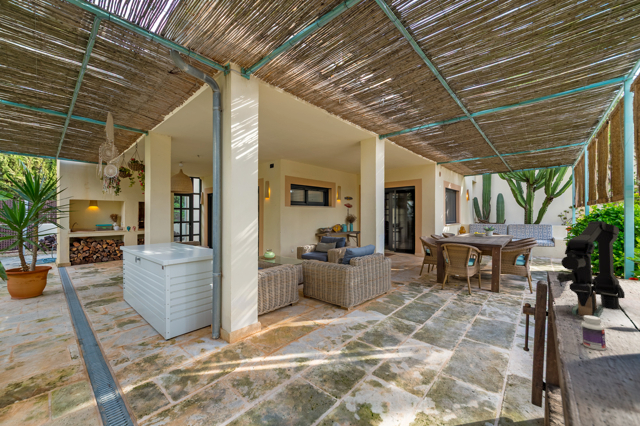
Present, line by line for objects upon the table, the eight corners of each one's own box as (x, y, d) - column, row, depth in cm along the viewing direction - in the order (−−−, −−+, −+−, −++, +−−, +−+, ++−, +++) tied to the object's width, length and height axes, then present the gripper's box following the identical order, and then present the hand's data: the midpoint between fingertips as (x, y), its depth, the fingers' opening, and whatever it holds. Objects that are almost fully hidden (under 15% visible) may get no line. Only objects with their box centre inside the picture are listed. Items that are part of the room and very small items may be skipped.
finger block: (580, 313, 117) (578, 295, 117) (593, 315, 114) (591, 296, 114) (578, 314, 115) (577, 296, 115) (591, 317, 112) (590, 298, 112)
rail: (579, 308, 125) (578, 302, 126) (603, 312, 119) (603, 306, 119) (572, 316, 116) (572, 309, 116) (598, 321, 110) (597, 313, 110)
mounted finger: (584, 307, 124) (583, 290, 124) (597, 309, 120) (595, 292, 121) (583, 309, 122) (582, 291, 122) (596, 311, 119) (594, 293, 119)
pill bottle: (609, 352, 84) (606, 321, 85) (585, 348, 87) (583, 318, 87) (602, 345, 89) (600, 316, 89) (580, 342, 91) (578, 313, 92)
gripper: (562, 263, 127) (564, 296, 126) (552, 268, 116) (555, 304, 115) (595, 266, 118) (598, 301, 118) (588, 271, 107) (591, 310, 106)
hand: (584, 304), depth 114 cm, fingers open, 9 cm apart
